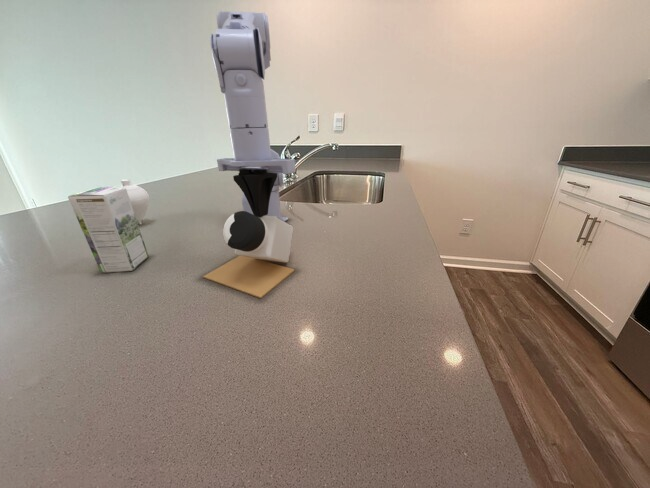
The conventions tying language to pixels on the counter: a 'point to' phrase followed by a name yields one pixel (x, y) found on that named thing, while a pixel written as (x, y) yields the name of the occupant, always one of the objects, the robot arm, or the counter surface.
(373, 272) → the counter surface
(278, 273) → the cork mat
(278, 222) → the medicine bottle
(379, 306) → the counter surface
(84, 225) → the syrup box
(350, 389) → the counter surface
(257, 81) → the robot arm
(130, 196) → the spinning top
